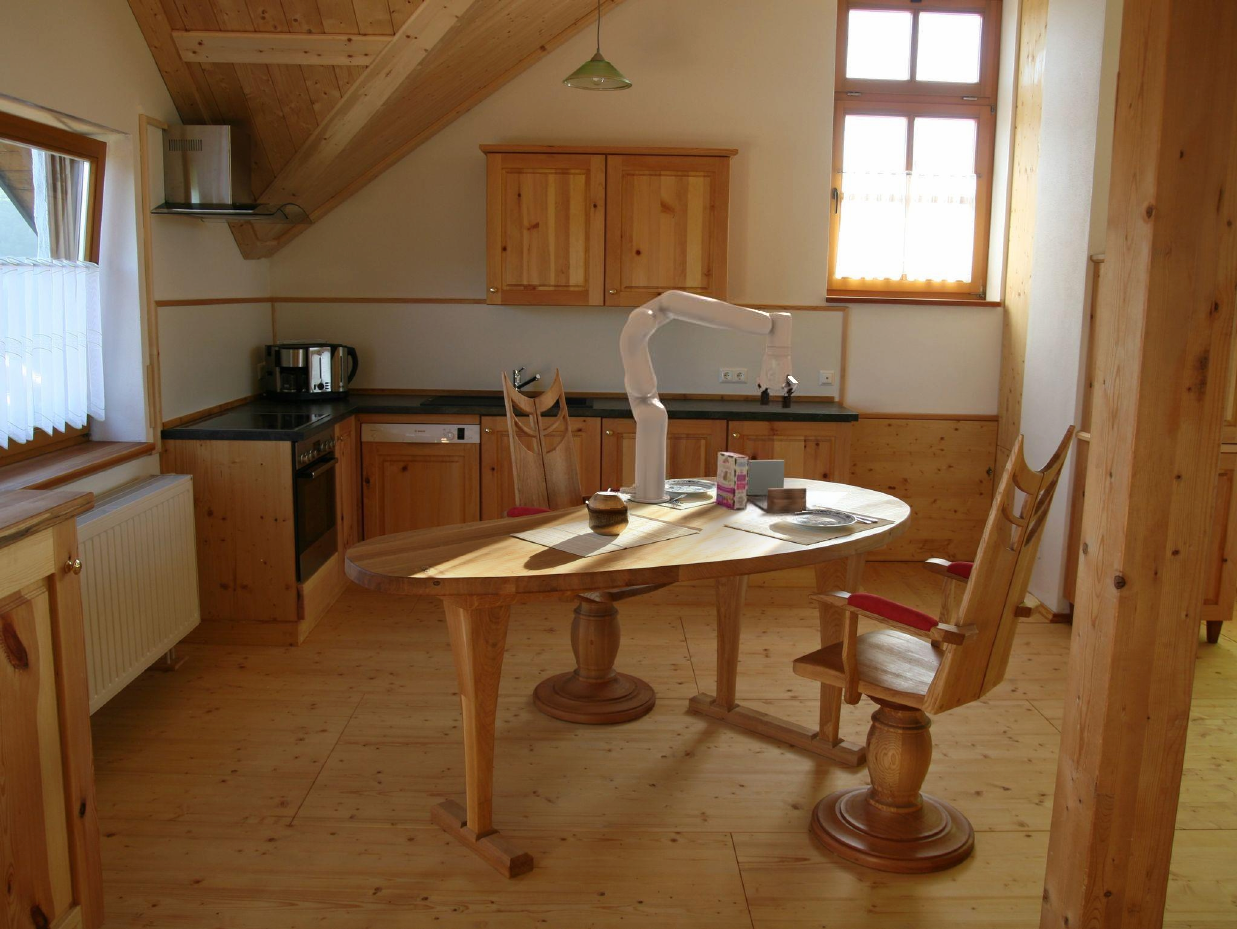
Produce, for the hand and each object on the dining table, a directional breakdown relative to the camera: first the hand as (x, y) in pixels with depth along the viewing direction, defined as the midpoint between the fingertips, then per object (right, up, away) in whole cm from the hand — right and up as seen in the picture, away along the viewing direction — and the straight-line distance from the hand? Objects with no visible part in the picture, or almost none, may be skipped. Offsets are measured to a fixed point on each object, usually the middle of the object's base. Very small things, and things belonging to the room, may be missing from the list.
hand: (775, 406), depth 339 cm
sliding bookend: (-3, -27, +11) cm, 30 cm away
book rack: (0, -31, -5) cm, 31 cm away
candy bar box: (-15, -32, -7) cm, 36 cm away
